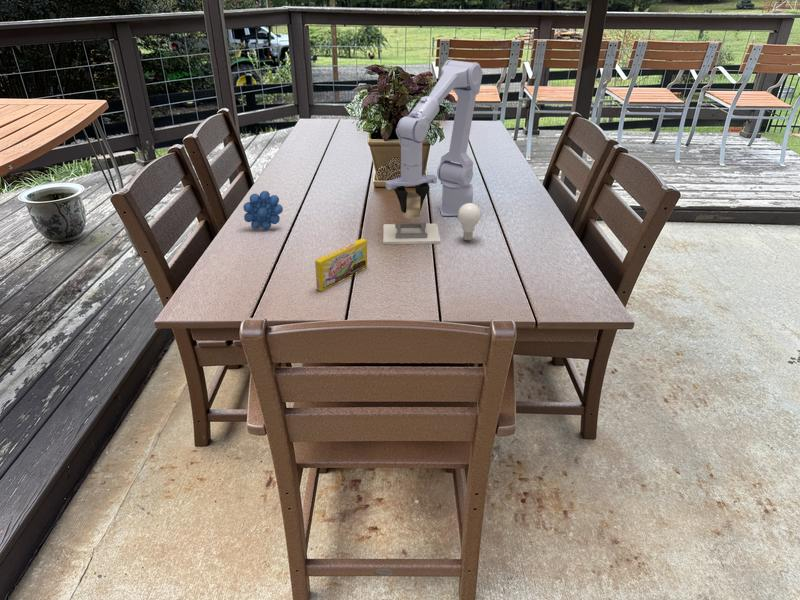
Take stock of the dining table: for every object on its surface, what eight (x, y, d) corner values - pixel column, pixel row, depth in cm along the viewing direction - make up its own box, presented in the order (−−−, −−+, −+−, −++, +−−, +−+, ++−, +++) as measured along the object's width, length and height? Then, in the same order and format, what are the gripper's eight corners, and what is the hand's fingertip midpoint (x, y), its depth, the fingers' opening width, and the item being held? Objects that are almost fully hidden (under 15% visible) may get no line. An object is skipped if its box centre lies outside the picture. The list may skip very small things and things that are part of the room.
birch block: (414, 211, 158) (414, 191, 154) (420, 216, 154) (420, 196, 151) (401, 213, 156) (401, 193, 153) (406, 218, 153) (407, 198, 150)
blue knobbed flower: (287, 223, 166) (283, 185, 159) (284, 232, 160) (279, 193, 154) (249, 223, 166) (243, 185, 159) (244, 233, 160) (237, 194, 153)
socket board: (436, 226, 164) (437, 219, 163) (440, 243, 153) (440, 237, 152) (383, 226, 163) (383, 220, 162) (383, 244, 153) (383, 237, 152)
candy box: (322, 292, 131) (319, 262, 127) (316, 289, 132) (313, 259, 128) (368, 268, 142) (367, 239, 137) (362, 265, 143) (361, 237, 138)
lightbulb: (481, 237, 157) (483, 201, 151) (476, 246, 152) (479, 209, 146) (459, 234, 159) (461, 198, 153) (454, 243, 154) (456, 206, 148)
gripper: (429, 155, 153) (428, 201, 160) (381, 162, 148) (382, 208, 155) (440, 163, 147) (438, 210, 154) (390, 169, 142) (391, 218, 150)
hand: (411, 210), depth 154 cm, fingers closed on birch block, 4 cm apart
